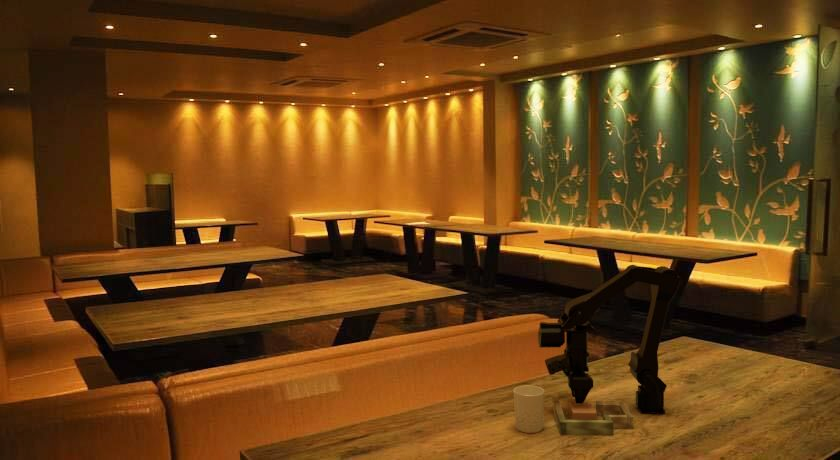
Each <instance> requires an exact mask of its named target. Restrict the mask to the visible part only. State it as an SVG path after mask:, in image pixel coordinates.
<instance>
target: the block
mask: <svg viewBox="0 0 840 460" xmlns="http://www.w3.org/2000/svg"><path fill="white" fill-rule="evenodd" d="M568 406H569V407H568V408H569V409H568V410H569V412H568V413H569V414H568V415H569V416H568V417H569V420H598V415H597V412H596V407H595V406H594V404H593V402H586V403H585V402H584V403H576V402H569V405H568Z"/></svg>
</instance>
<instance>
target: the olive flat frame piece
mask: <svg viewBox="0 0 840 460" xmlns="http://www.w3.org/2000/svg"><path fill="white" fill-rule="evenodd" d="M552 404H553V405H552V406H553V407H552V408H553V414H554V418H555V421H556V424H557V428H558V430H559V433H560V435H575V436H576V435H579V436H580V435H581V436H582V435H584V436H585V435H587V436H588V435H589V436H591V435H594V436H598V435H599V436H614V429H625V430H626V429H629V430H633V429H634V416H633V415H632V413H631V412H630V410H629V408H628V407H627V405H626V403H625V402H603V400H595V410H596V412H597V417H598V416H602V419H600V420H599V419H597V420H570V419H566V417H565V415H564V412H563V409H562V406H561V403H560V401H559V400H553V403H552Z"/></svg>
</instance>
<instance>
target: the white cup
mask: <svg viewBox="0 0 840 460" xmlns="http://www.w3.org/2000/svg"><path fill="white" fill-rule="evenodd" d="M512 390H513V391H512V392H513V408H514V417H515V428H516V429H517V431H519V432H522V433H527V434H536V433H540V432H541V431H542V430H543V421H544V410H545V394H546V393H545V389H544V388H542V387H540V386H537V385H519V386H516V387H515V388H513V389H512Z"/></svg>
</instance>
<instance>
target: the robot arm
mask: <svg viewBox="0 0 840 460" xmlns="http://www.w3.org/2000/svg"><path fill="white" fill-rule="evenodd" d="M681 280H682V279H681V276H680V274H679V273H678V271H676V270H674V269H672V268H670V267H668V266H665V265H660V266H658V267H649V266H640V265H639V266H638V265H636V264H630V265H628V266H627V267H626V268H625V269H623V270H622V271H620V272H619V273H618V274H616V275H615V276H613V277H611V278H610V279H609V280H607V281H606V282H604V283H603V284H602V285H600V286H599V287H597V288H595V290H593V291H592V292H589V293H587V294H584V295H581V296H578V297H576V298H574V299H571V300H569V301H568V302H567V303H566V304H565V306H564V307H565V308H564V312H563V313H562V314H561V316H560V317H559V318H558V320H557V321H556V322H546V321H545V322H544V321H540V322H539V327H538V332H537V341H538V347H539V348H541V349H542V348H561V347H562V346H564V344H565V348H564V349H563V353H561V354H558V355H555V356H551V357H549V358H547V359H545V360H544V363H545V367H546V369H547V372H548V374H549V376H550V375H552V376H553V375H555V374H556V373H559V372H563V374H564V375H565V376H566V377H567V385H568V388H569V389H570V391H571V397H572V398H574V403H585V400H586V398H587V396H588V394H589V393H590V391H591V390H593V388H594V378H593V377H592V376H591V375H590V374H589V373H590V369H589V366H588V358H589V357H590V353H589V350H588V349H589V348H588V347H589V346H588V344H589V343H588V342H589V339H588V338H589V336H588V335H589V333H595V332H596V331H597V330H596V329H595V328H594V326H592V324H591V323H590V319H591V318H592V317H594V316H595V314H596V313H597V311H598V310H599V309H600V308H601V307H602V306H603V305H605V304H606V303H607V302H609V301H611V300H612V299H614V298H615V297H616V296H618V295H620V294H621V293H622V292H624V291H625V290H627V289H628V288H630V287H631V286H633V285H634V284H635V283H637V282H640V283H645V284H649V285H650V290H651V292H650V293H651V301H650V305H649V308H648V309H649V310H648V313H647V318H646V323H645V327H644V330H643V336H642V340H641V344H640V347H639V349H638V350H637V352H635V351H631V353H630V360H629V362H628V363H627V365H628V367H629V372H630V374H631V375H632V376H633V378H634V380H636V381H637V383H638V384H639V385H637V390H636V391H635V407H637V409H638V410H639V412H640V413H641V414H666V410H665V402H664V401H665V400H664V399H665V391H666V389H667V384H666V383H665V382H664V381H663V380H662V379H661V378H660V377H659V360H658V352H659V347H660V343H661V339H662V333H663V331H664V325H665V322H666V318H667V314H668V309H669V304H670V303H671V301H672V300H673V298H674V297H675V295H676V294H677V291H678V289H679V287H680V285H681Z"/></svg>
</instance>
